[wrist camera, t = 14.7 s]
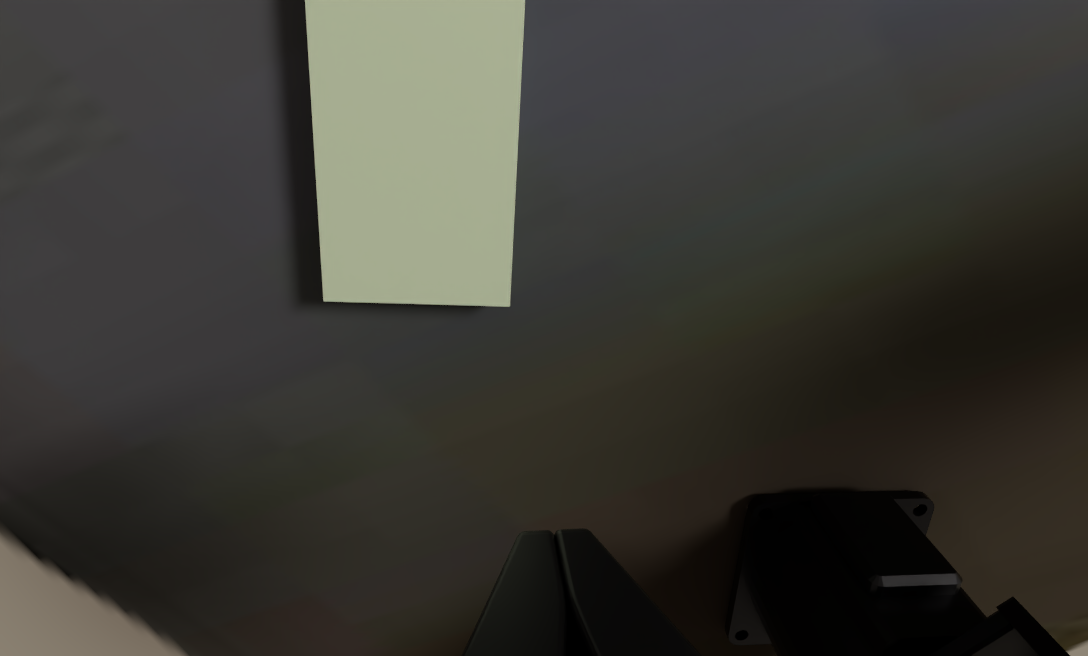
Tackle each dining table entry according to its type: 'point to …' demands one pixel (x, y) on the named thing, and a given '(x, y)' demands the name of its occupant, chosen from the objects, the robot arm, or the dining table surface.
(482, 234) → the tile
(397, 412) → the dining table surface
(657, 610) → the robot arm
